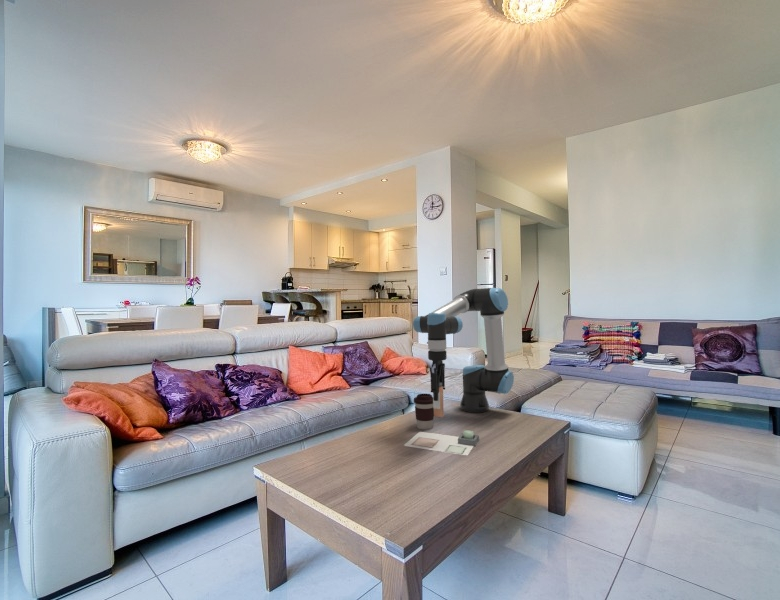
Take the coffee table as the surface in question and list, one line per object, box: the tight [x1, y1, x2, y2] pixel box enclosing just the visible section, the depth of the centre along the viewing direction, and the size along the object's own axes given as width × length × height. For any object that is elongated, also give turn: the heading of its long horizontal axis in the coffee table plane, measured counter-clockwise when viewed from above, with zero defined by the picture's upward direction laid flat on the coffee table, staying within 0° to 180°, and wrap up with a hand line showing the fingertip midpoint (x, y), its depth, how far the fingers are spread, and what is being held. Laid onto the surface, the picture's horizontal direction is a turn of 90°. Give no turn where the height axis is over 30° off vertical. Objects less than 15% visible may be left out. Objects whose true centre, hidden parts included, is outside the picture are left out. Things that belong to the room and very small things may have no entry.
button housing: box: [458, 432, 480, 447], centre depth 155 cm, size 7×7×2 cm
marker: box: [434, 382, 445, 418], centre depth 156 cm, size 4×4×14 cm
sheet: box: [403, 431, 475, 456], centre depth 154 cm, size 18×26×1 cm
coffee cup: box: [413, 393, 435, 430], centre depth 174 cm, size 10×10×15 cm
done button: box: [462, 429, 474, 440], centre depth 155 cm, size 4×4×3 cm
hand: (438, 406), depth 155 cm, fingers closed on marker, 4 cm apart
